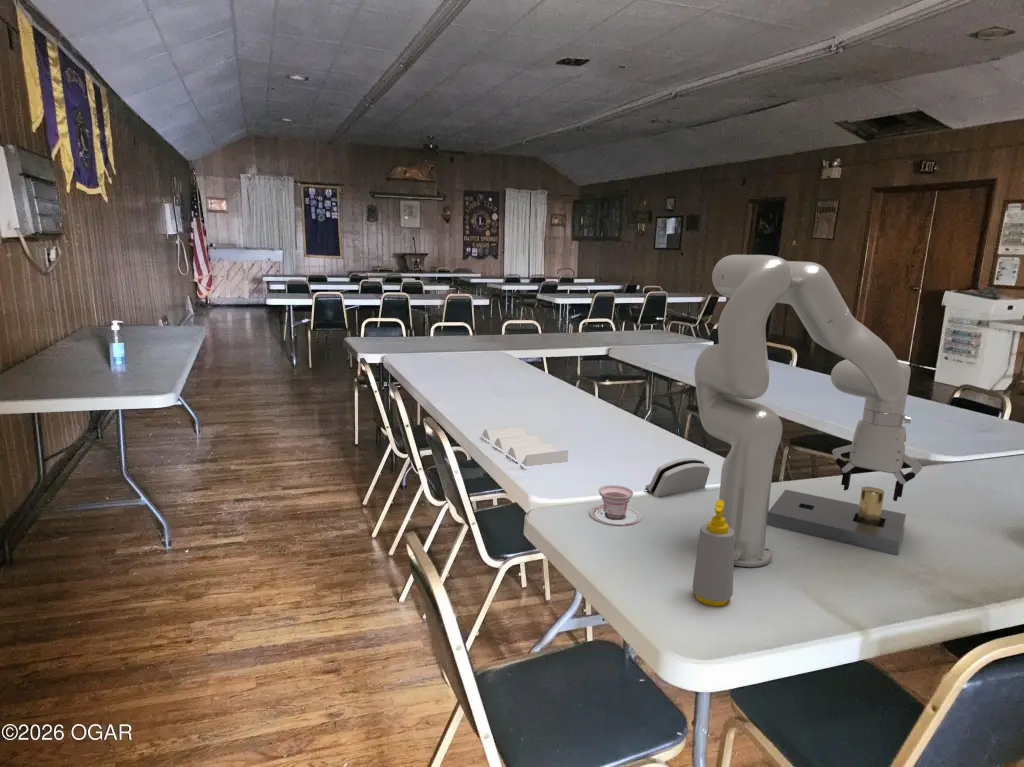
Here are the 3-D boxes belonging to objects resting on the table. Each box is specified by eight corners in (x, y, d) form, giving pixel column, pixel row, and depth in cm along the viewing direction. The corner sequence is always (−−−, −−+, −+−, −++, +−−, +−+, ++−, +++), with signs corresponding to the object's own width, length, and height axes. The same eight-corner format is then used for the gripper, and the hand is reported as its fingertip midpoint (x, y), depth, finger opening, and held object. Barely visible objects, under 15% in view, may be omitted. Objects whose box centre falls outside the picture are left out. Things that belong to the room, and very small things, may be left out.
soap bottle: (689, 603, 116) (697, 507, 112) (693, 585, 122) (701, 493, 119) (730, 611, 114) (740, 513, 110) (732, 592, 120) (741, 499, 116)
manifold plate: (897, 555, 136) (899, 541, 136) (766, 524, 151) (767, 512, 150) (904, 526, 151) (906, 514, 151) (784, 500, 165) (785, 489, 165)
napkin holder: (691, 481, 178) (703, 451, 173) (703, 492, 174) (715, 462, 170) (643, 490, 170) (654, 459, 165) (654, 502, 167) (665, 471, 162)
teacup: (580, 509, 157) (581, 485, 156) (624, 503, 162) (625, 479, 160) (605, 529, 146) (606, 503, 145) (651, 522, 151) (653, 497, 149)
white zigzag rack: (517, 435, 221) (517, 420, 220) (567, 467, 189) (568, 450, 188) (480, 439, 215) (480, 423, 214) (525, 472, 184) (526, 455, 183)
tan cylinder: (877, 538, 144) (883, 495, 142) (854, 533, 147) (860, 490, 145) (879, 531, 148) (885, 489, 146) (857, 527, 150) (862, 485, 148)
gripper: (930, 422, 140) (916, 499, 144) (840, 408, 150) (830, 480, 153) (928, 429, 134) (914, 508, 138) (835, 414, 144) (824, 489, 147)
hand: (870, 494), depth 145 cm, fingers open, 9 cm apart
